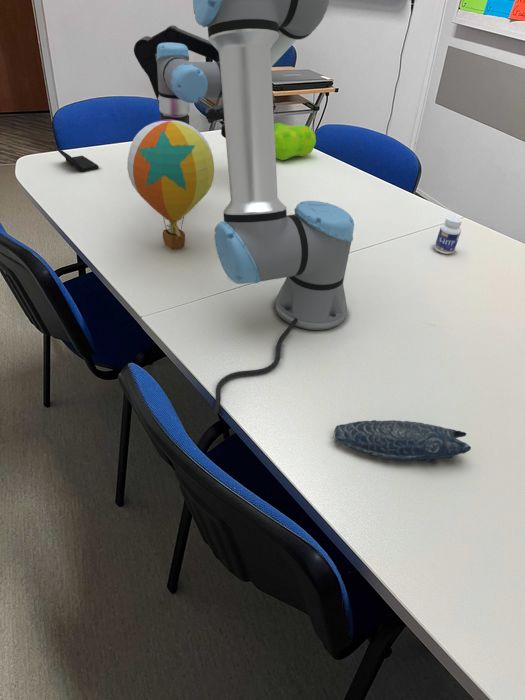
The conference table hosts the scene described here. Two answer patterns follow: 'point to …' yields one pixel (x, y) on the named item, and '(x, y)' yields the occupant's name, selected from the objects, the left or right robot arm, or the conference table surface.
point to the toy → (171, 172)
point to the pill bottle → (448, 235)
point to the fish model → (401, 439)
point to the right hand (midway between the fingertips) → (177, 200)
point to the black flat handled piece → (79, 161)
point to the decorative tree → (293, 141)
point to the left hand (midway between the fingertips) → (232, 151)
